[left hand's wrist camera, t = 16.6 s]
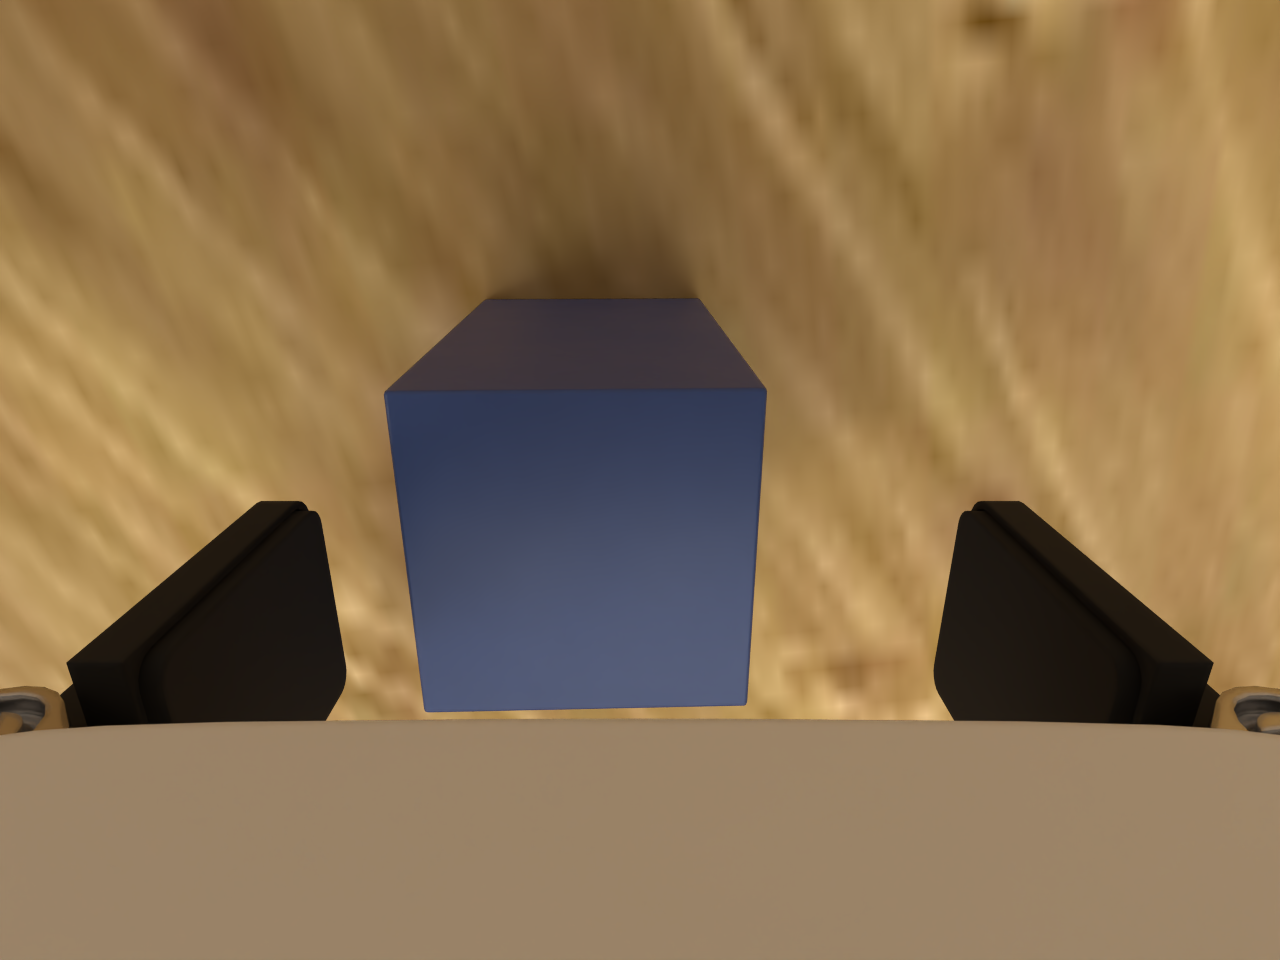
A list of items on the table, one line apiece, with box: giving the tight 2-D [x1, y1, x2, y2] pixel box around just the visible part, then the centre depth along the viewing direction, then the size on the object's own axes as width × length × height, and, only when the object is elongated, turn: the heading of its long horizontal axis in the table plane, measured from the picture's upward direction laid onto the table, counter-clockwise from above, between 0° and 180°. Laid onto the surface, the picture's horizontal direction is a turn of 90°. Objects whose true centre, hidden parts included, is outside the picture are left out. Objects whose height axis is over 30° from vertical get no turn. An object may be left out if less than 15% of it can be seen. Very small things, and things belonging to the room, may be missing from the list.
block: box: [384, 299, 767, 712], centre depth 16 cm, size 6×5×9 cm
